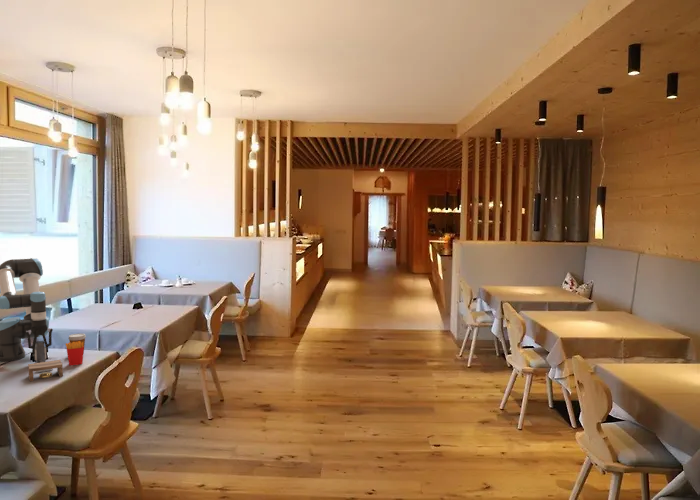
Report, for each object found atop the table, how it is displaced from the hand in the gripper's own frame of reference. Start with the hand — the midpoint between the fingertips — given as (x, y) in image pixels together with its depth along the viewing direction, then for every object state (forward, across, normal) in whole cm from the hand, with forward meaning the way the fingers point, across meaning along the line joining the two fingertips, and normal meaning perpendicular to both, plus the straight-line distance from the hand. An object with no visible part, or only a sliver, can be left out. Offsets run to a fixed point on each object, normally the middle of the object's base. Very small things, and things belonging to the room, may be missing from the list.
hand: (40, 358), depth 303 cm
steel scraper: (+2, 0, -9) cm, 9 cm away
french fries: (+2, +16, -14) cm, 21 cm away
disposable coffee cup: (+2, +20, +6) cm, 21 cm away
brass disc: (+2, 0, -29) cm, 29 cm away
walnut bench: (+2, 0, -29) cm, 29 cm away
